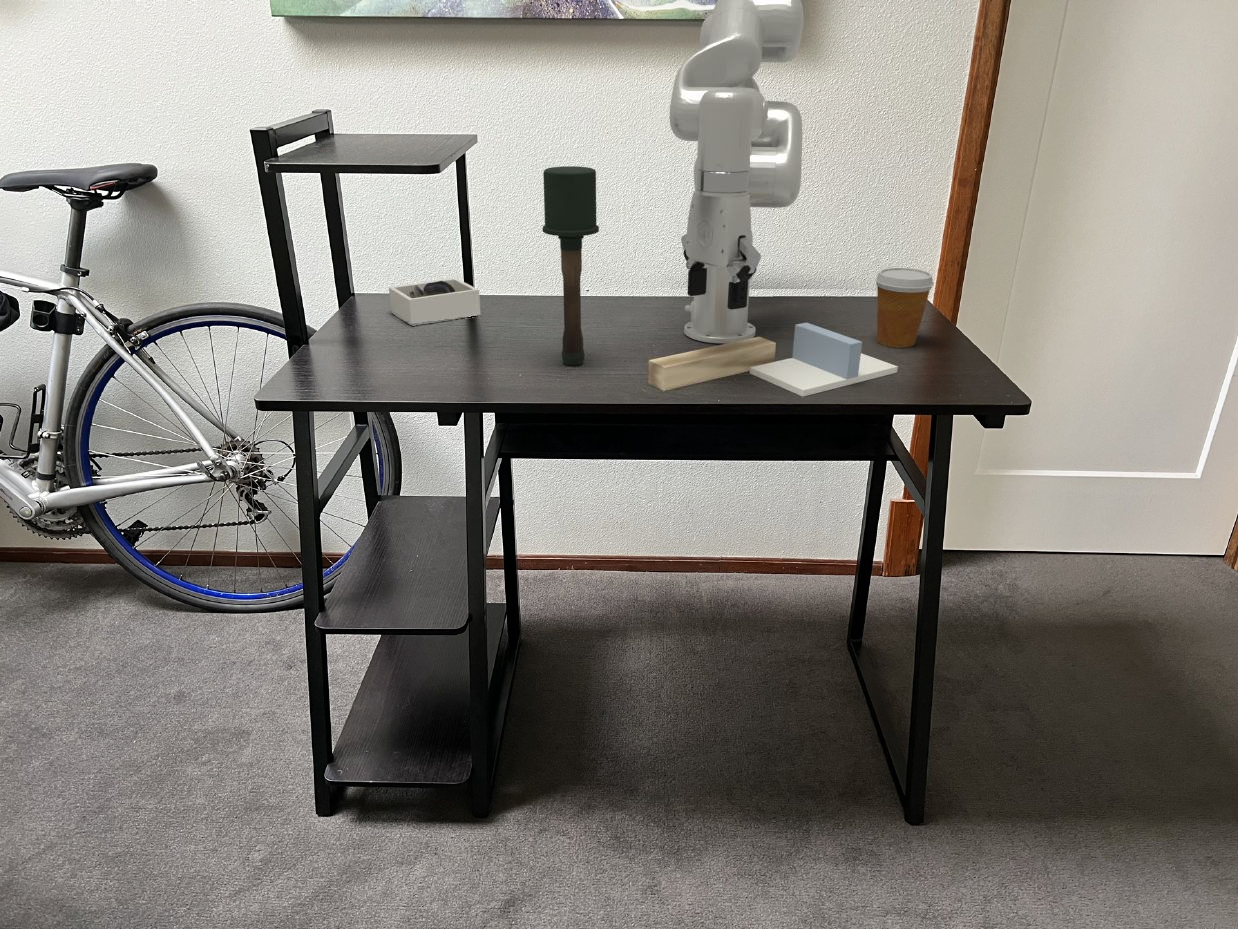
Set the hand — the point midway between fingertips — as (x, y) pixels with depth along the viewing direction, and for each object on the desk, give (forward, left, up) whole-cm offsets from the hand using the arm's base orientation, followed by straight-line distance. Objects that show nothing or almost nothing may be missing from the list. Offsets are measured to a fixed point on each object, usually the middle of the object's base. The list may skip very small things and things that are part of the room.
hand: (716, 301), depth 137 cm
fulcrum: (+8, +15, -12) cm, 21 cm away
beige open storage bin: (-55, -24, -12) cm, 61 cm away
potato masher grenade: (-17, -16, -12) cm, 26 cm away
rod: (-1, +1, -12) cm, 12 cm away
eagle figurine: (-54, -24, -12) cm, 60 cm away
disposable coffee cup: (+3, +37, -12) cm, 39 cm away
